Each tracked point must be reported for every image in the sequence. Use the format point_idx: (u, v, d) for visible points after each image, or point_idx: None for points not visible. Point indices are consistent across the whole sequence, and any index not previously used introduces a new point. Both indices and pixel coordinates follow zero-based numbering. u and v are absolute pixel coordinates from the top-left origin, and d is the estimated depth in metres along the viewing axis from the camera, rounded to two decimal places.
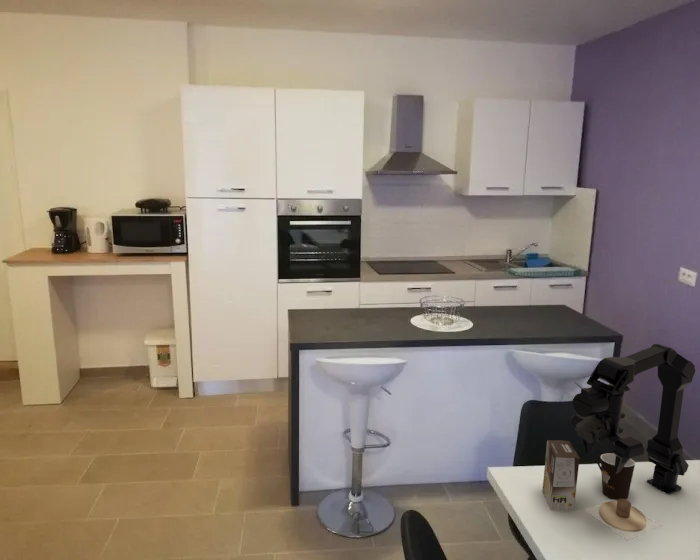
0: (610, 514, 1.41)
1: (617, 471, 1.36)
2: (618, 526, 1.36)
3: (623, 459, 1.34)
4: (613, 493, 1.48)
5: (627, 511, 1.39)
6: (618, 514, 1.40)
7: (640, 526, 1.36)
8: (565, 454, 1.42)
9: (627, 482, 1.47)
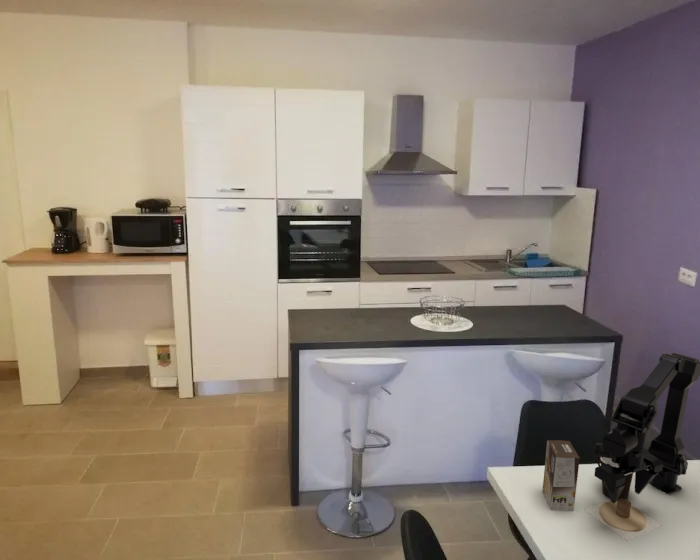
0: (610, 514, 1.41)
1: (611, 500, 1.38)
2: (618, 526, 1.36)
3: (612, 489, 1.36)
4: None
5: (627, 511, 1.39)
6: (618, 514, 1.40)
7: (640, 526, 1.36)
8: (565, 454, 1.42)
9: (627, 483, 1.47)
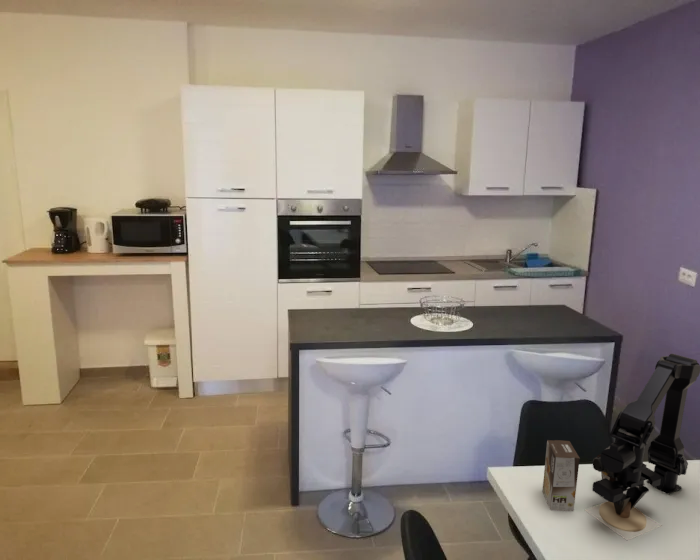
0: (610, 514, 1.41)
1: (616, 511, 1.40)
2: (618, 526, 1.36)
3: (618, 500, 1.38)
4: None
5: (627, 511, 1.39)
6: None
7: (640, 526, 1.36)
8: (565, 454, 1.42)
9: None
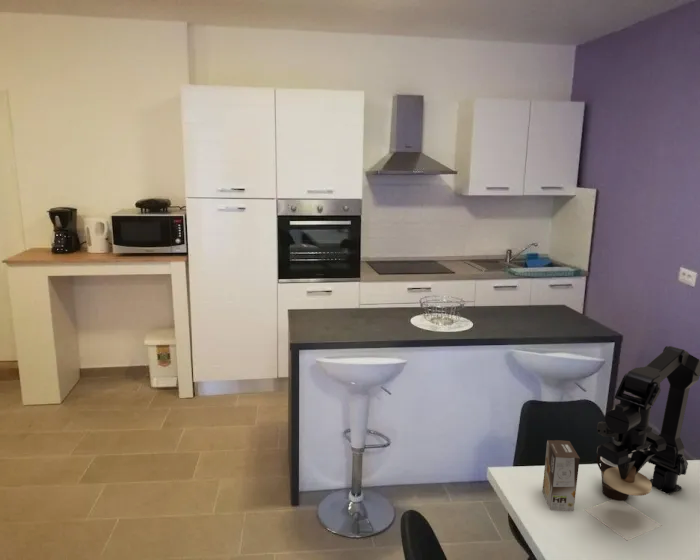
0: (615, 479, 1.38)
1: (621, 476, 1.37)
2: (623, 490, 1.34)
3: (623, 464, 1.36)
4: (613, 494, 1.48)
5: (632, 475, 1.36)
6: (623, 479, 1.38)
7: (645, 490, 1.34)
8: (565, 454, 1.42)
9: None
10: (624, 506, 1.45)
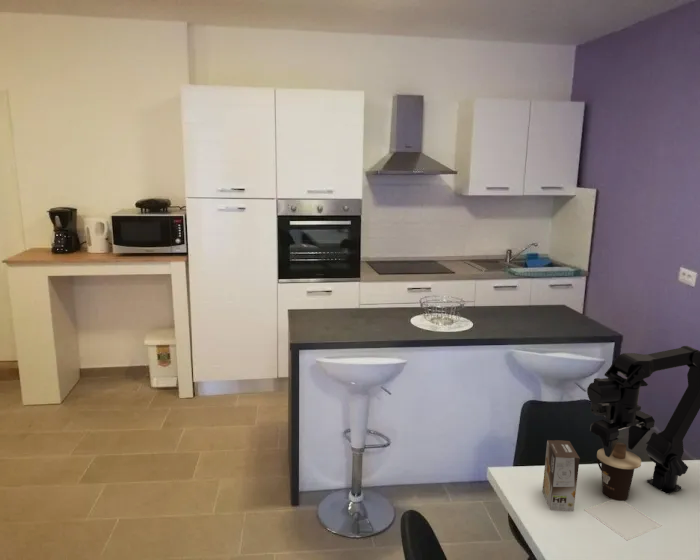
0: None
1: (606, 454, 1.48)
2: (615, 464, 1.46)
3: (607, 443, 1.46)
4: (613, 494, 1.48)
5: (623, 452, 1.48)
6: (615, 456, 1.49)
7: (635, 464, 1.45)
8: (565, 454, 1.42)
9: (627, 483, 1.47)
10: (624, 506, 1.45)
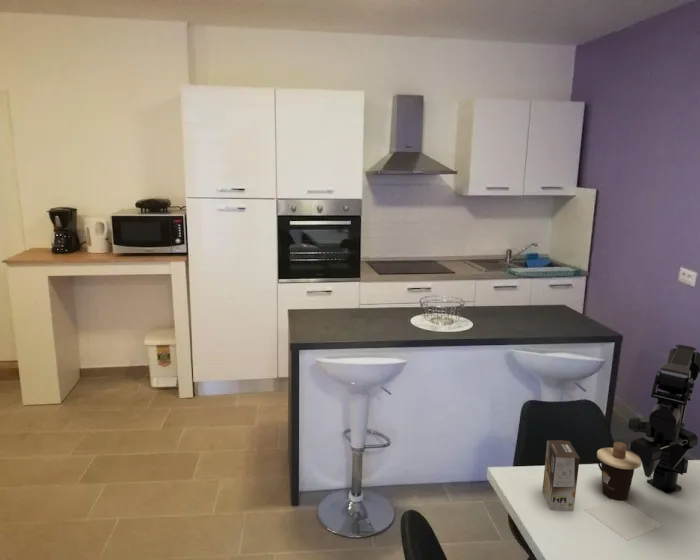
0: (607, 456, 1.50)
1: (645, 474, 1.37)
2: (615, 464, 1.46)
3: (647, 462, 1.36)
4: (613, 494, 1.48)
5: (623, 452, 1.48)
6: (615, 456, 1.49)
7: (635, 464, 1.45)
8: (565, 454, 1.42)
9: (627, 483, 1.47)
10: (624, 506, 1.45)
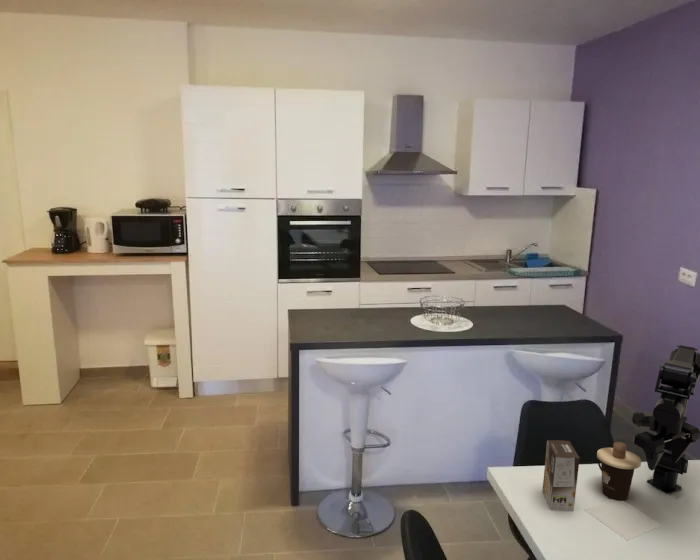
0: (607, 456, 1.50)
1: (649, 467, 1.40)
2: (615, 464, 1.46)
3: (651, 456, 1.39)
4: (613, 494, 1.48)
5: (623, 452, 1.48)
6: (615, 456, 1.49)
7: (635, 464, 1.45)
8: (565, 454, 1.42)
9: (627, 483, 1.47)
10: (624, 506, 1.45)
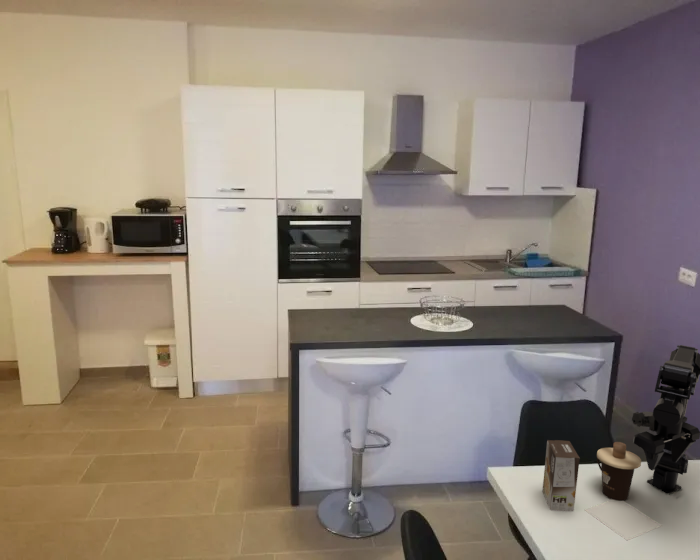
0: (607, 456, 1.50)
1: (649, 467, 1.40)
2: (615, 464, 1.46)
3: (651, 456, 1.39)
4: (613, 494, 1.48)
5: (623, 452, 1.48)
6: (615, 456, 1.49)
7: (635, 464, 1.45)
8: (565, 454, 1.42)
9: (627, 483, 1.47)
10: (624, 506, 1.45)
